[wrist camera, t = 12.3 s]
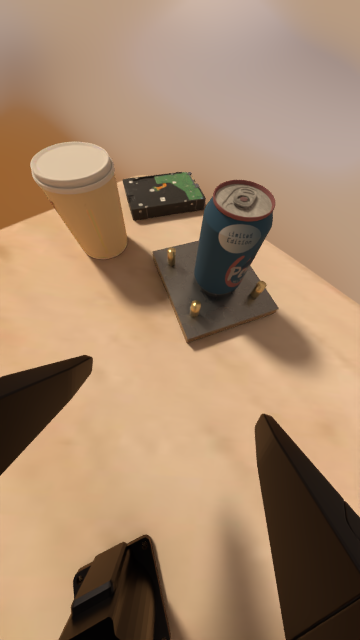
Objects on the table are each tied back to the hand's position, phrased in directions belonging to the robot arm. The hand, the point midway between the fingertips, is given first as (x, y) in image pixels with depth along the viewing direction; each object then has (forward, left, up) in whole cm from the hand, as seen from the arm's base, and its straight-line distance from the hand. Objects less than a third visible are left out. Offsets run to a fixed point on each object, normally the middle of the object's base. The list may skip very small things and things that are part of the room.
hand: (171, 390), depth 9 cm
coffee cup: (+28, +3, -14) cm, 31 cm away
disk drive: (+37, -11, -14) cm, 41 cm away
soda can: (+13, -12, -12) cm, 22 cm away
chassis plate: (+14, -11, -14) cm, 22 cm away
